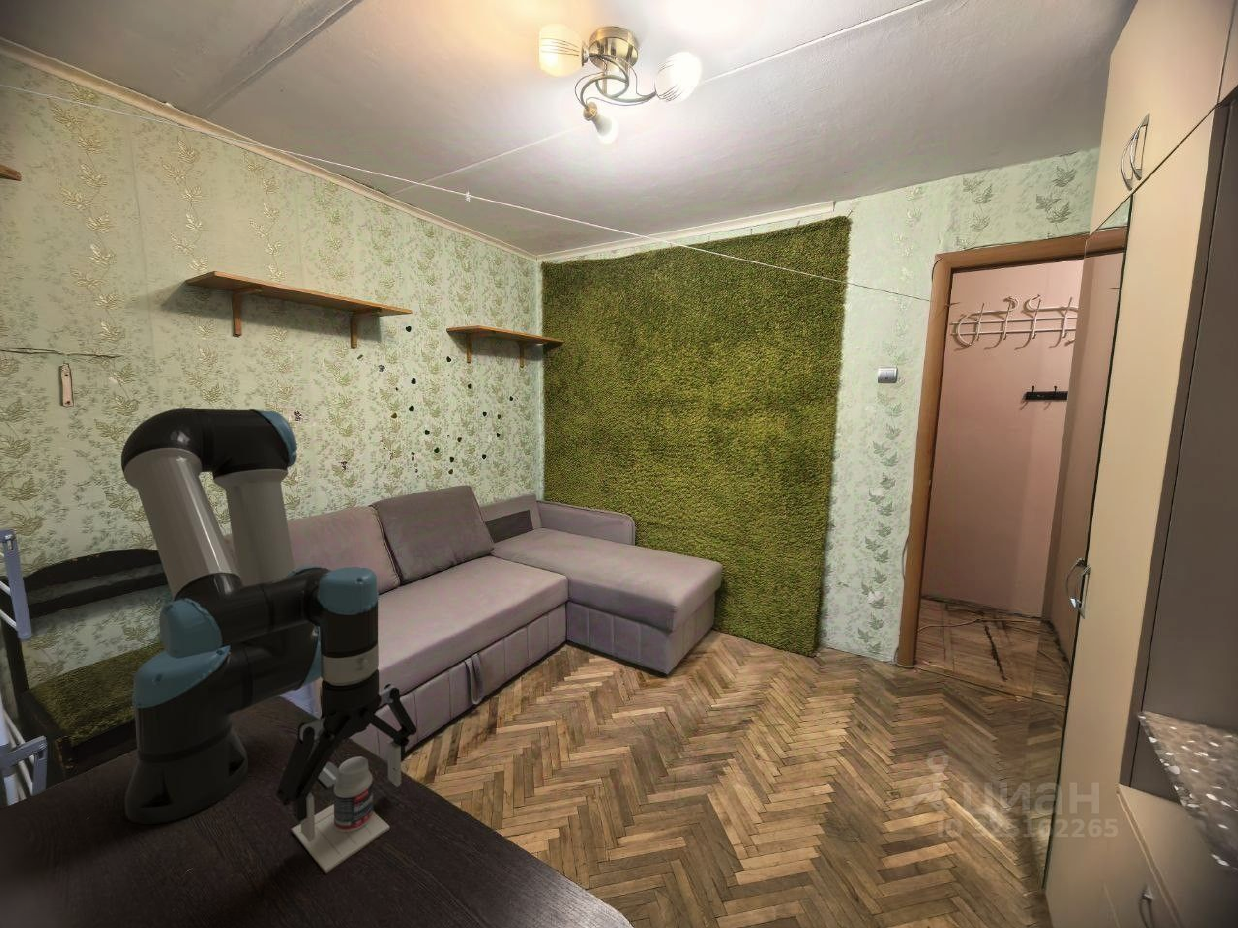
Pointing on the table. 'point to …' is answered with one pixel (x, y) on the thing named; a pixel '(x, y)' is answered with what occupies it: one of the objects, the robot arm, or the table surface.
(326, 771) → the grey striped flat block
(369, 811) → the pill bottle
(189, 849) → the table surface
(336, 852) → the paper
